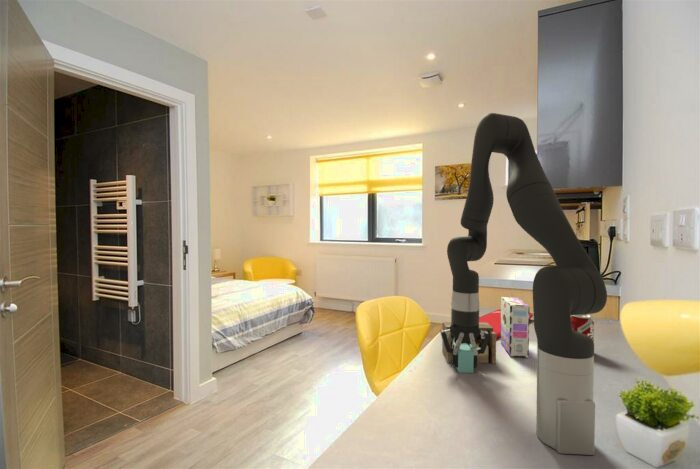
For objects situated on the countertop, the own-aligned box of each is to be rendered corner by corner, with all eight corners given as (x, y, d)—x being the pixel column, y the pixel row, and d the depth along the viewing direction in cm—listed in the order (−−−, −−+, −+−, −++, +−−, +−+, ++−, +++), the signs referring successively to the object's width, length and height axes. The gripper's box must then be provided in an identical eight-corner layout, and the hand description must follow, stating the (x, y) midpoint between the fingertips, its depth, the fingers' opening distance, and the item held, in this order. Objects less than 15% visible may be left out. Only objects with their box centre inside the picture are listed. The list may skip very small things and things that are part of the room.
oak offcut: (488, 362, 106) (488, 346, 106) (474, 362, 107) (474, 345, 107) (482, 355, 112) (482, 339, 112) (469, 355, 113) (469, 339, 113)
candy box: (529, 358, 110) (530, 305, 109) (509, 357, 111) (509, 304, 110) (517, 344, 123) (518, 296, 123) (499, 342, 124) (500, 296, 124)
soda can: (569, 353, 114) (570, 316, 113) (567, 347, 120) (568, 311, 119) (594, 357, 111) (595, 318, 110) (591, 350, 117) (592, 314, 116)
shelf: (495, 364, 105) (496, 330, 105) (447, 362, 106) (447, 329, 106) (486, 353, 114) (487, 322, 114) (442, 352, 115) (442, 321, 115)
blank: (473, 372, 99) (473, 351, 99) (458, 372, 99) (459, 351, 99) (461, 356, 111) (461, 337, 111) (448, 356, 111) (448, 337, 111)
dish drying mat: (453, 333, 137) (453, 323, 137) (498, 314, 166) (498, 306, 166) (493, 342, 126) (494, 332, 126) (534, 321, 155) (534, 312, 155)
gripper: (441, 309, 97) (440, 371, 98) (495, 311, 96) (494, 373, 97) (437, 303, 104) (436, 360, 105) (487, 304, 103) (486, 362, 104)
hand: (464, 366), depth 101 cm, fingers closed on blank, 4 cm apart
